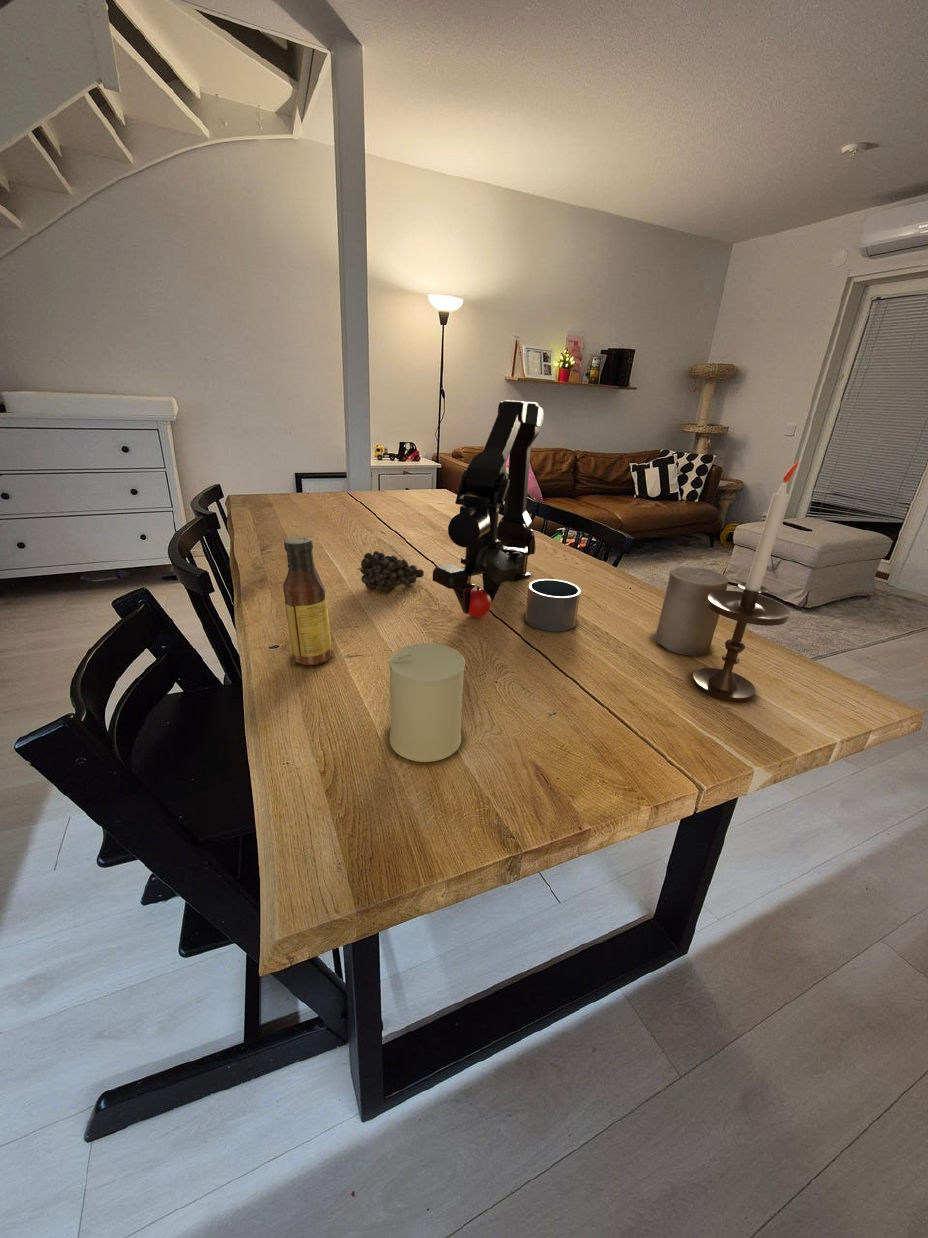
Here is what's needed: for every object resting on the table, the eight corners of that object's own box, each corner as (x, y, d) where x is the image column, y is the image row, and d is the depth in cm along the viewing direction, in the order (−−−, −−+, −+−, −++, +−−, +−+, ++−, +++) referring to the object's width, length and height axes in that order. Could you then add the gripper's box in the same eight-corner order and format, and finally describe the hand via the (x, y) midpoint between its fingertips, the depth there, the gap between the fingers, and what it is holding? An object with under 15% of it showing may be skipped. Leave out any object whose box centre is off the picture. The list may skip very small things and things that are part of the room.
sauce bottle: (339, 653, 84) (332, 537, 76) (317, 670, 79) (307, 548, 70) (306, 645, 86) (295, 532, 78) (282, 662, 80) (268, 541, 72)
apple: (477, 608, 105) (479, 579, 102) (496, 617, 101) (498, 587, 98) (457, 614, 101) (458, 584, 99) (474, 623, 97) (476, 593, 95)
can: (391, 717, 68) (390, 639, 63) (458, 717, 69) (462, 639, 64) (387, 763, 60) (385, 676, 55) (464, 762, 61) (469, 676, 56)
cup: (548, 607, 107) (552, 576, 104) (585, 623, 100) (591, 590, 97) (515, 617, 101) (518, 585, 98) (552, 635, 94) (557, 601, 91)
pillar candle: (709, 639, 96) (730, 565, 90) (708, 661, 88) (732, 581, 82) (656, 628, 100) (673, 555, 93) (651, 648, 92) (669, 570, 85)
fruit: (421, 543, 114) (355, 545, 108) (433, 564, 109) (364, 569, 103) (416, 573, 120) (353, 577, 114) (427, 595, 114) (361, 601, 108)
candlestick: (774, 694, 79) (857, 463, 64) (734, 713, 73) (815, 466, 59) (711, 664, 87) (773, 453, 73) (671, 679, 82) (729, 454, 67)
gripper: (471, 552, 83) (466, 636, 89) (547, 537, 94) (538, 613, 100) (431, 536, 91) (429, 615, 97) (506, 524, 102) (500, 596, 108)
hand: (476, 610), depth 101 cm, fingers closed on apple, 5 cm apart
